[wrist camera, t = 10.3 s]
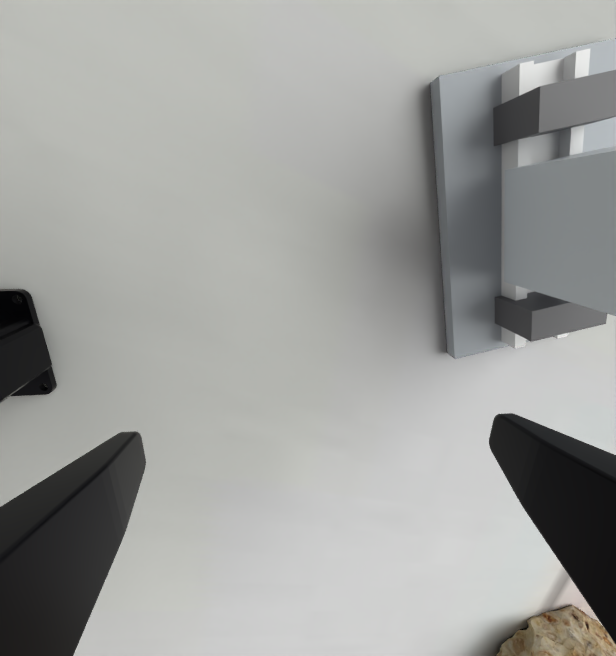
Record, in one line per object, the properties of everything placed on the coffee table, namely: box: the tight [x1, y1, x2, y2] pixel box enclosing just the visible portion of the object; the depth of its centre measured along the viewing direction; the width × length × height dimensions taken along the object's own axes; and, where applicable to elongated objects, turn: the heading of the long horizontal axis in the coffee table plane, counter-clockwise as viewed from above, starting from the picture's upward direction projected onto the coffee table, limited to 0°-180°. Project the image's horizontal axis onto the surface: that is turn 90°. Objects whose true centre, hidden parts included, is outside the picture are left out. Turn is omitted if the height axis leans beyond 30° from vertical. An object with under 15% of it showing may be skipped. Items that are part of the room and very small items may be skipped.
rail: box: [430, 38, 616, 359], centre depth 18 cm, size 16×10×4 cm, turn 12°
